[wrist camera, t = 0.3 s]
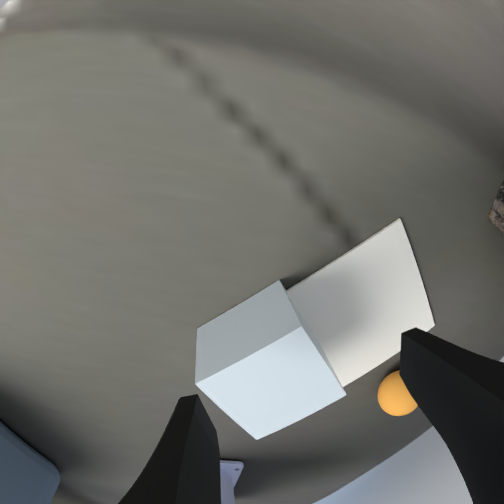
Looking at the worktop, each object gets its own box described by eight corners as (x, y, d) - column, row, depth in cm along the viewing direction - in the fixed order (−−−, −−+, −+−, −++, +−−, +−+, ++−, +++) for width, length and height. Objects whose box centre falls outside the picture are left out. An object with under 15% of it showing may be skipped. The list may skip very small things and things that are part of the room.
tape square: (433, 324, 22) (434, 325, 22) (328, 393, 23) (329, 394, 23) (398, 218, 19) (400, 218, 18) (264, 303, 19) (265, 304, 19)
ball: (397, 394, 24) (416, 422, 21) (363, 396, 24) (380, 427, 20) (416, 361, 23) (439, 388, 20) (382, 360, 22) (404, 390, 19)
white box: (320, 344, 21) (346, 394, 16) (247, 384, 21) (256, 439, 17) (279, 279, 19) (301, 326, 14) (197, 328, 19) (194, 383, 15)
